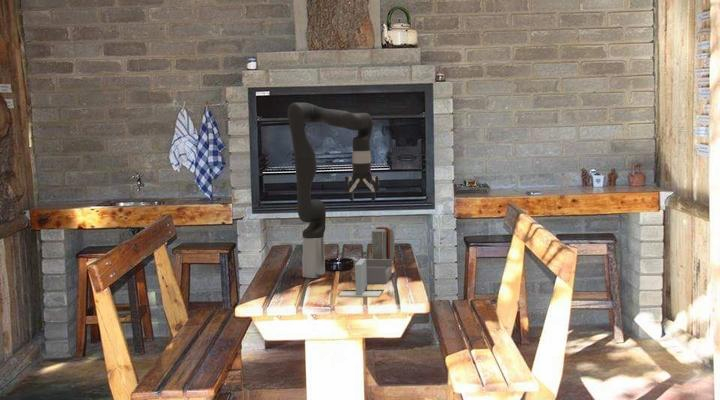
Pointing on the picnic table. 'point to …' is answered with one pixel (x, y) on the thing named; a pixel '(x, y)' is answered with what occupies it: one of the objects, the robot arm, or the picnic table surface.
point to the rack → (378, 271)
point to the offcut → (353, 273)
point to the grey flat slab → (361, 276)
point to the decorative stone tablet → (383, 243)
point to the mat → (366, 294)
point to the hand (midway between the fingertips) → (362, 201)
